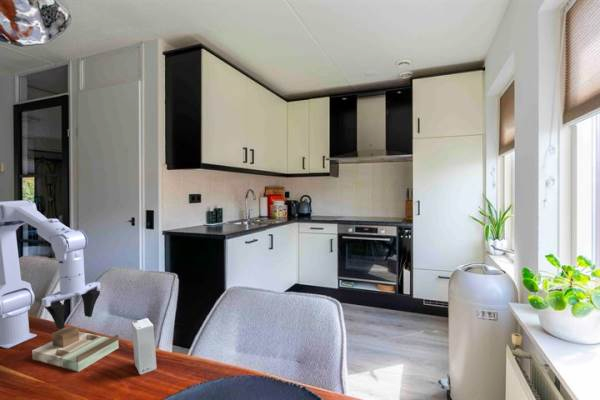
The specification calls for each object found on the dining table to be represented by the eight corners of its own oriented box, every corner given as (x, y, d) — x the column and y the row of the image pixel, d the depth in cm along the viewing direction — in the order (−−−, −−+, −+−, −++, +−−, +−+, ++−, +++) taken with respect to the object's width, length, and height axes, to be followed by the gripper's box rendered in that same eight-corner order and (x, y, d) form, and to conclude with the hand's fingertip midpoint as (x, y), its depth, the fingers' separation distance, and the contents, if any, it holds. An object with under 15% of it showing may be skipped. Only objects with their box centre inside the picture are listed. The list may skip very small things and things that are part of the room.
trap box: (32, 359, 88) (31, 345, 87) (75, 338, 99) (74, 325, 99) (78, 371, 82) (77, 356, 82) (118, 347, 93) (118, 334, 93)
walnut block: (52, 345, 90) (51, 333, 90) (68, 337, 94) (67, 326, 94) (63, 347, 89) (62, 335, 88) (79, 340, 93) (78, 328, 93)
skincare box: (157, 369, 83) (155, 324, 82) (138, 376, 80) (136, 330, 79) (151, 358, 87) (149, 316, 86) (133, 365, 84) (131, 321, 84)
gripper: (52, 284, 79) (55, 336, 80) (106, 268, 93) (108, 313, 94) (35, 281, 82) (38, 331, 83) (90, 266, 95) (92, 309, 96)
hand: (74, 321), depth 88 cm, fingers open, 7 cm apart
